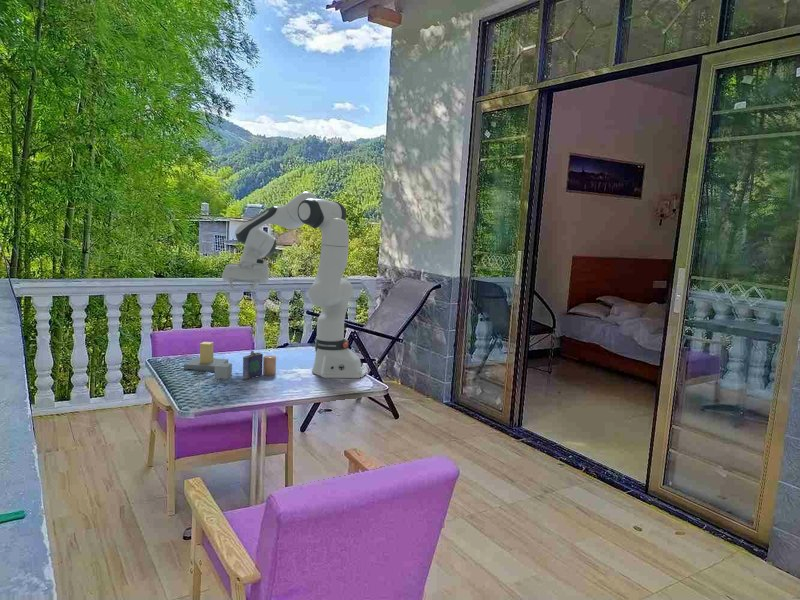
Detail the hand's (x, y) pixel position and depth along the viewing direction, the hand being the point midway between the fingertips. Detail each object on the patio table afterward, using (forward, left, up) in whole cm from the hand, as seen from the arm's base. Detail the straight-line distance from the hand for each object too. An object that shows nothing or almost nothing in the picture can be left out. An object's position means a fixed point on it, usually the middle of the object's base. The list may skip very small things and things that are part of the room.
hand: (241, 288), depth 242 cm
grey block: (-3, +29, -31) cm, 43 cm away
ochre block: (+9, +16, -29) cm, 35 cm away
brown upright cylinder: (-19, +21, -31) cm, 42 cm away
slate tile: (+9, +16, -31) cm, 36 cm away
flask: (-14, +27, -31) cm, 44 cm away
